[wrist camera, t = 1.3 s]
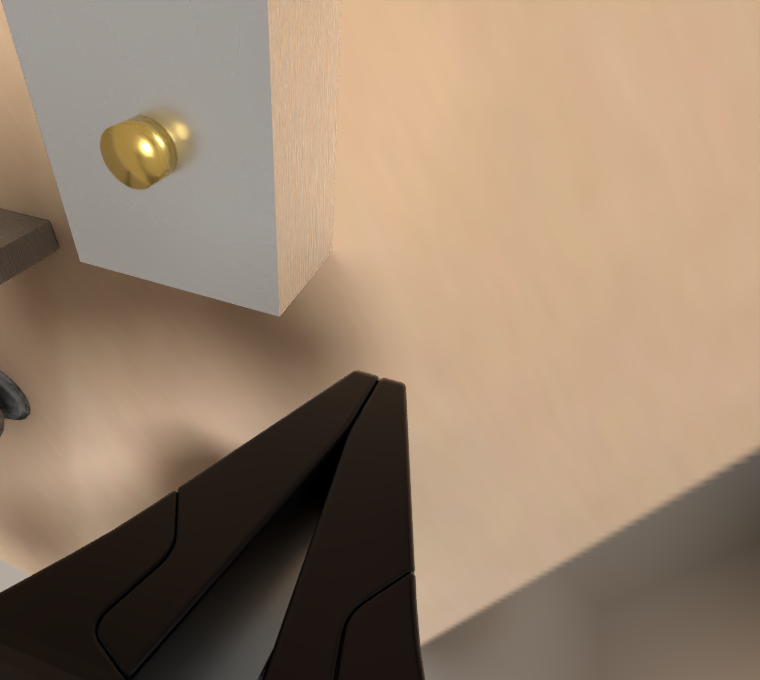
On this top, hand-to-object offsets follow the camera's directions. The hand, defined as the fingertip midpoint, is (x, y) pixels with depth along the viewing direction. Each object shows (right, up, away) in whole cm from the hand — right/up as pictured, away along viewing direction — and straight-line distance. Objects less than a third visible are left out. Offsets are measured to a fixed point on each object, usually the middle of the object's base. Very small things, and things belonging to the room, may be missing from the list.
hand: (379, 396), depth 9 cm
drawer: (-5, +9, +11) cm, 16 cm away
